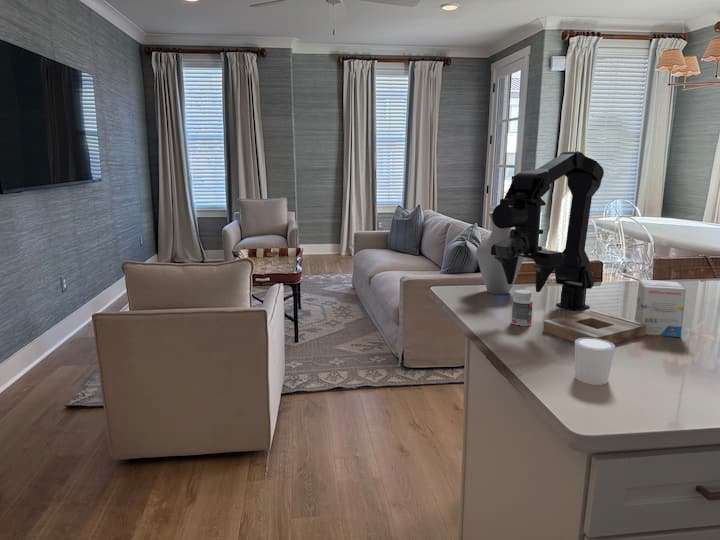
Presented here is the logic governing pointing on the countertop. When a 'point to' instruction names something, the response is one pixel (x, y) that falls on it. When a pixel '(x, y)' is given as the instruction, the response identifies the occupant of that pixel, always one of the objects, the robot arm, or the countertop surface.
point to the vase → (495, 262)
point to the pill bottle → (522, 308)
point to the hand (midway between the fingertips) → (523, 287)
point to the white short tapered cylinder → (593, 360)
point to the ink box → (660, 307)
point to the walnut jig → (595, 327)
